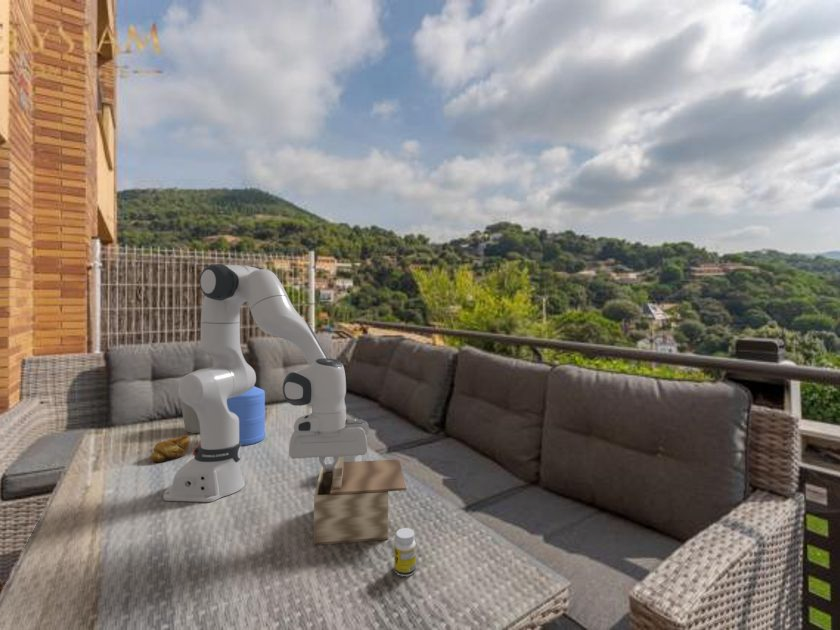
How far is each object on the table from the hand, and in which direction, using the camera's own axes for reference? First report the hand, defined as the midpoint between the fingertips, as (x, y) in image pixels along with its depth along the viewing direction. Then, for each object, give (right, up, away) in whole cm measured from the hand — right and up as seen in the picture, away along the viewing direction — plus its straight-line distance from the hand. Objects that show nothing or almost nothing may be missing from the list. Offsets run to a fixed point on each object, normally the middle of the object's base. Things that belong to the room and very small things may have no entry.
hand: (329, 472), depth 105 cm
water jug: (-51, -13, +66) cm, 84 cm away
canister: (-77, -12, +79) cm, 111 cm away
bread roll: (-72, -13, +46) cm, 86 cm away
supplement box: (-1, -14, +33) cm, 35 cm away
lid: (+10, -2, +2) cm, 10 cm away
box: (+6, -14, +1) cm, 15 cm away
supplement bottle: (+21, -15, -18) cm, 31 cm away
